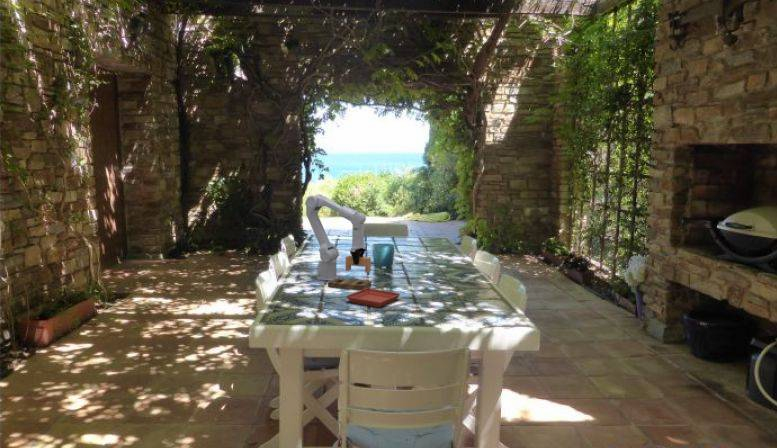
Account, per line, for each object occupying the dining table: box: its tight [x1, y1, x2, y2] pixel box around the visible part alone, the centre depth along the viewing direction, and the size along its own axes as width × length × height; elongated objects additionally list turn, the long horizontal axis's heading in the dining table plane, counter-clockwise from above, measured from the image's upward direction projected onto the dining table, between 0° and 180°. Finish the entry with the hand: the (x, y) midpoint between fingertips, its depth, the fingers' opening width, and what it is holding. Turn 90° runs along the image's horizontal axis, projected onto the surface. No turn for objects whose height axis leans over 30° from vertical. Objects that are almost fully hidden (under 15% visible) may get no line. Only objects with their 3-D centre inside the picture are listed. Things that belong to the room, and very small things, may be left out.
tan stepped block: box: [345, 255, 372, 273], centre depth 278 cm, size 12×4×7 cm, turn 72°
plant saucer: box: [345, 288, 401, 308], centre depth 245 cm, size 18×18×3 cm
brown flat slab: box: [327, 278, 372, 291], centre depth 269 cm, size 19×9×2 cm, turn 72°
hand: (357, 263), depth 278 cm, fingers closed on tan stepped block, 4 cm apart
